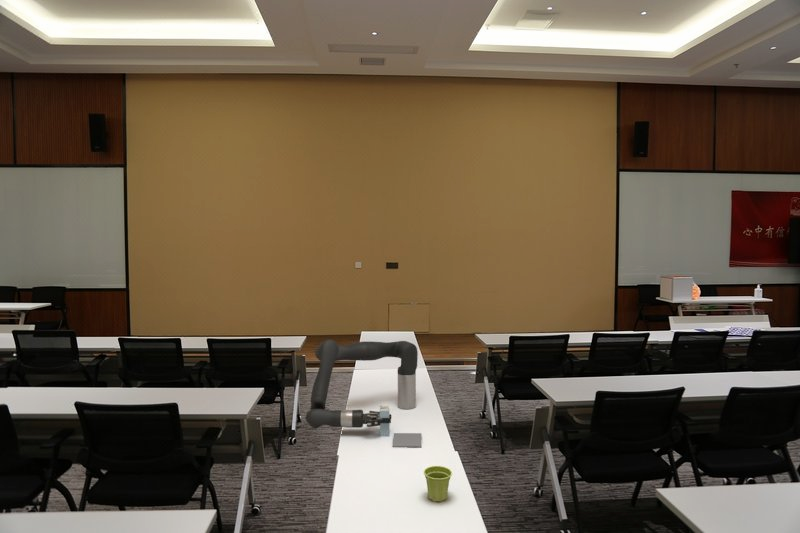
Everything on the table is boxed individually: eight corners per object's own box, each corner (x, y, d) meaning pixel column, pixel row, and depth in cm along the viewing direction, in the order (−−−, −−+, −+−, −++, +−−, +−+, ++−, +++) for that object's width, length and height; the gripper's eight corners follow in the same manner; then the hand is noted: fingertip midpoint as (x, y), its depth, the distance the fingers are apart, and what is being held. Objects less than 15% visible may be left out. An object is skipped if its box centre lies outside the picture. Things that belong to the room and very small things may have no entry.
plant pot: (450, 490, 175) (450, 465, 175) (453, 504, 166) (453, 478, 165) (422, 490, 175) (422, 465, 174) (425, 505, 165) (424, 479, 165)
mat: (393, 434, 225) (393, 433, 225) (421, 434, 224) (421, 433, 224) (392, 447, 211) (392, 446, 211) (421, 447, 210) (421, 446, 210)
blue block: (380, 432, 227) (380, 406, 226) (389, 432, 227) (389, 406, 226) (379, 436, 223) (379, 409, 222) (389, 436, 223) (388, 409, 222)
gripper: (349, 415, 218) (390, 416, 217) (353, 404, 232) (391, 404, 231) (350, 433, 218) (390, 433, 218) (354, 421, 232) (391, 421, 232)
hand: (390, 418), depth 224 cm, fingers closed on blue block, 4 cm apart
